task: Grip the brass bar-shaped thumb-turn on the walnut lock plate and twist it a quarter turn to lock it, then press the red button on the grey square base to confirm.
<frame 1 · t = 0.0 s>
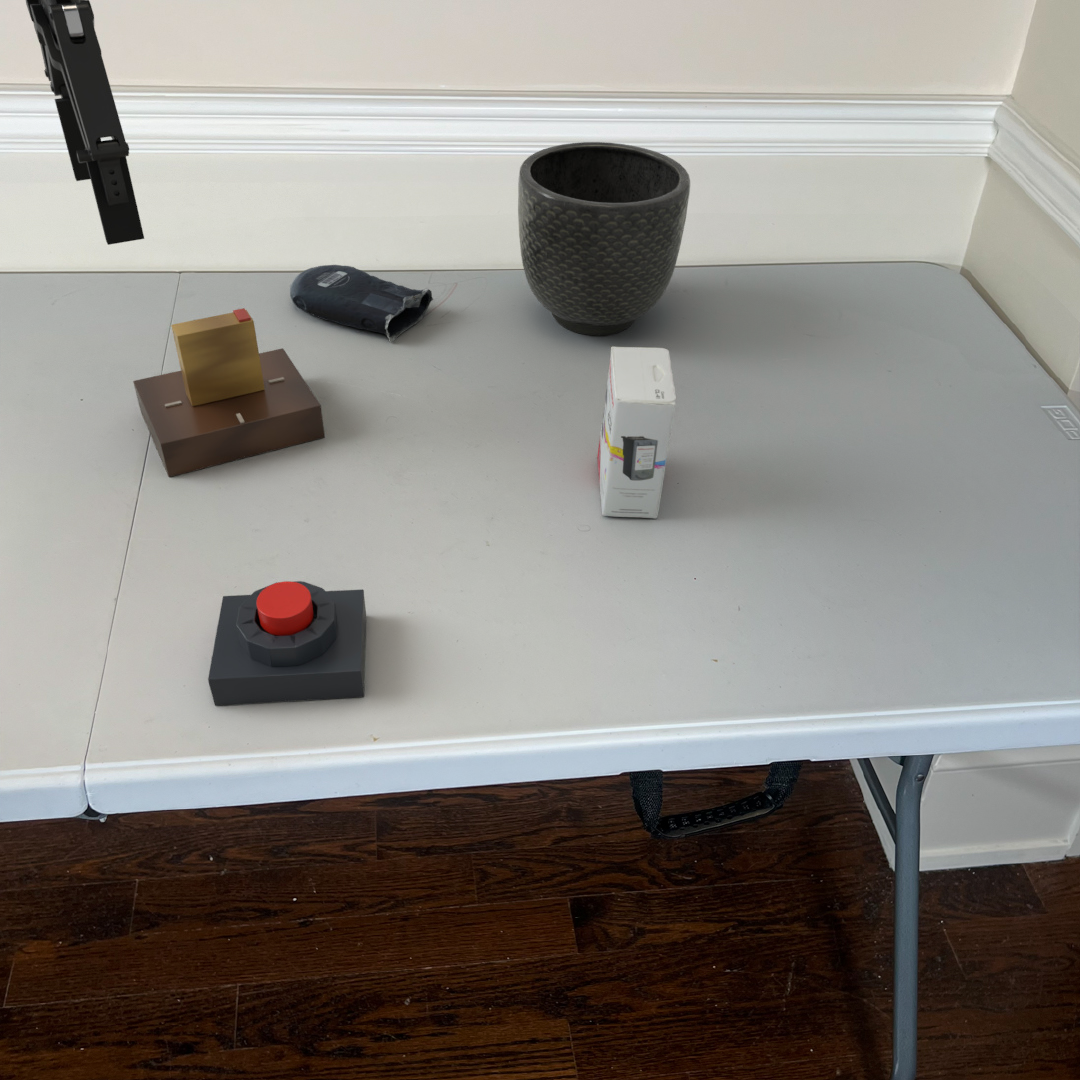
hand: (108, 207, 84), 19 cm above the table, tool pointing down, fingers open, 13 cm apart
ink box: (627, 490, 90), on the table
button: (285, 608, 70), point 5 cm above the table, slide at 0.1 cm
planter: (593, 317, 113), on the table
grey square base: (294, 658, 73), on the table
lock plate: (232, 425, 95), on the table
thumb turn: (219, 357, 90), point 7 cm above the table, hinge at 0.0°
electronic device: (356, 311, 112), on the table
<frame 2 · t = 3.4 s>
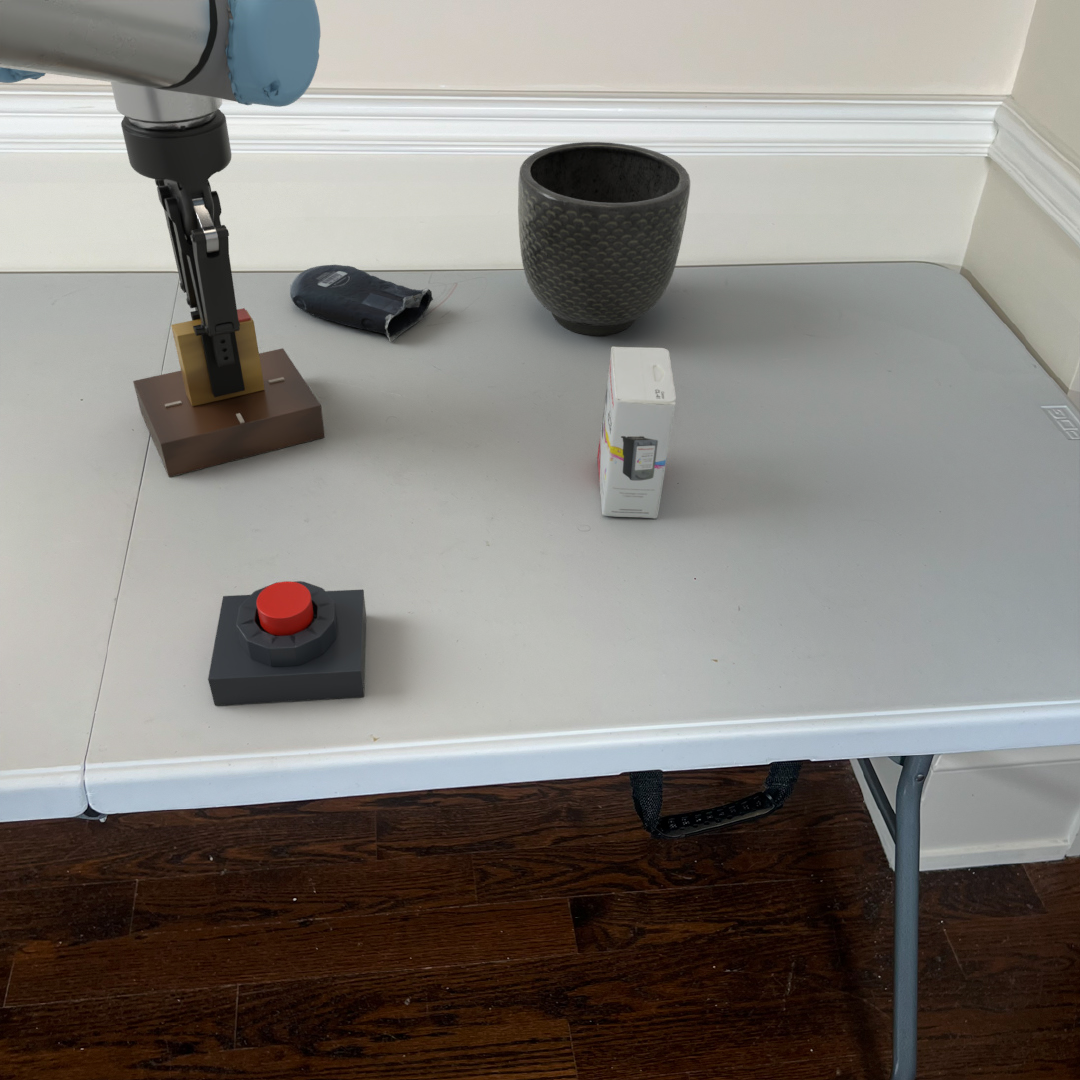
hand: (224, 383, 92), 4 cm above the table, tool pointing down, fingers closed on thumb turn, 2 cm apart
thumb turn: (219, 357, 90), point 7 cm above the table, hinge at 0.0°, touching gripper
everything else where it was.
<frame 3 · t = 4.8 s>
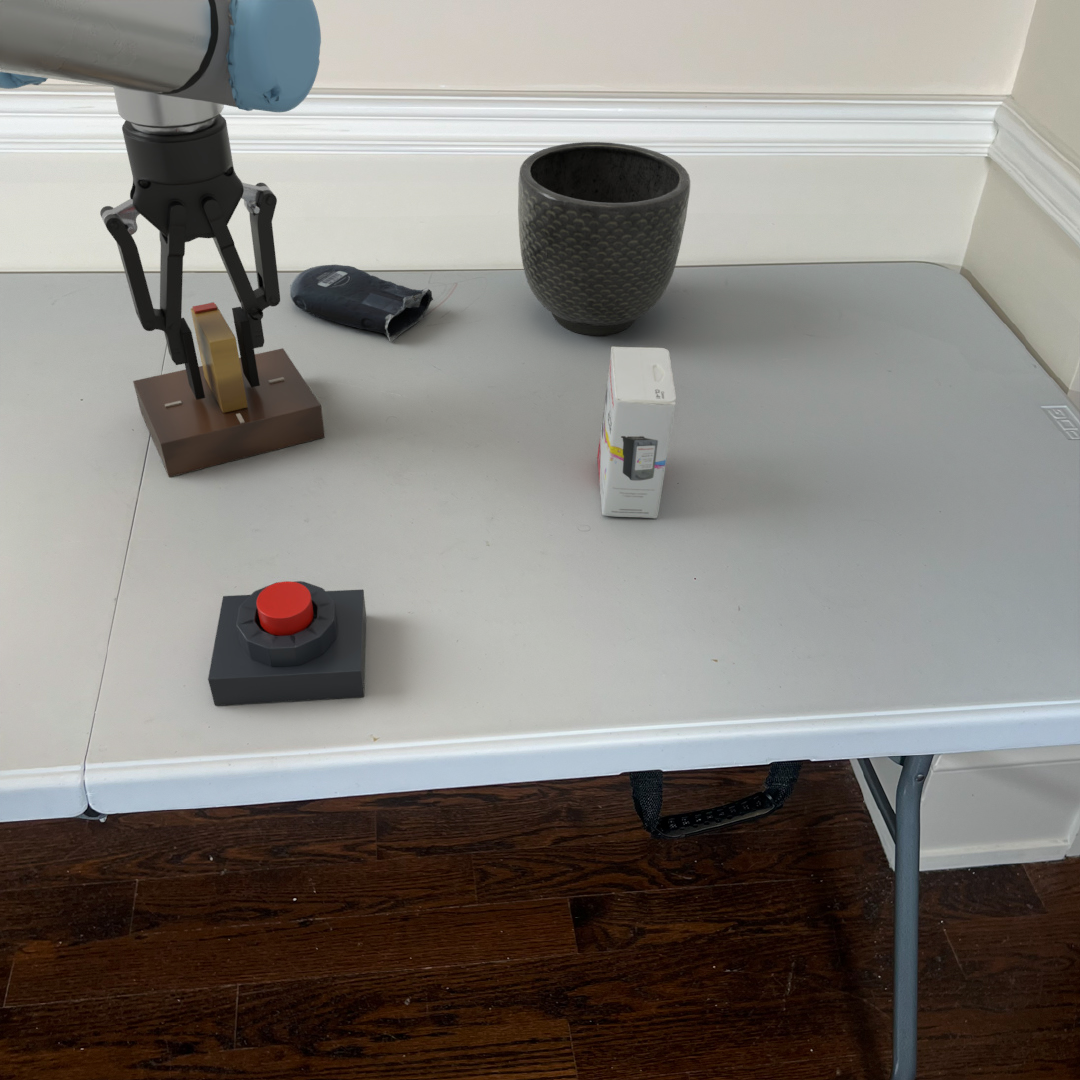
hand: (224, 384, 92), 4 cm above the table, tool pointing down, fingers open, 4 cm apart
thumb turn: (219, 357, 90), point 7 cm above the table, hinge at 89.5°
everything else where it was.
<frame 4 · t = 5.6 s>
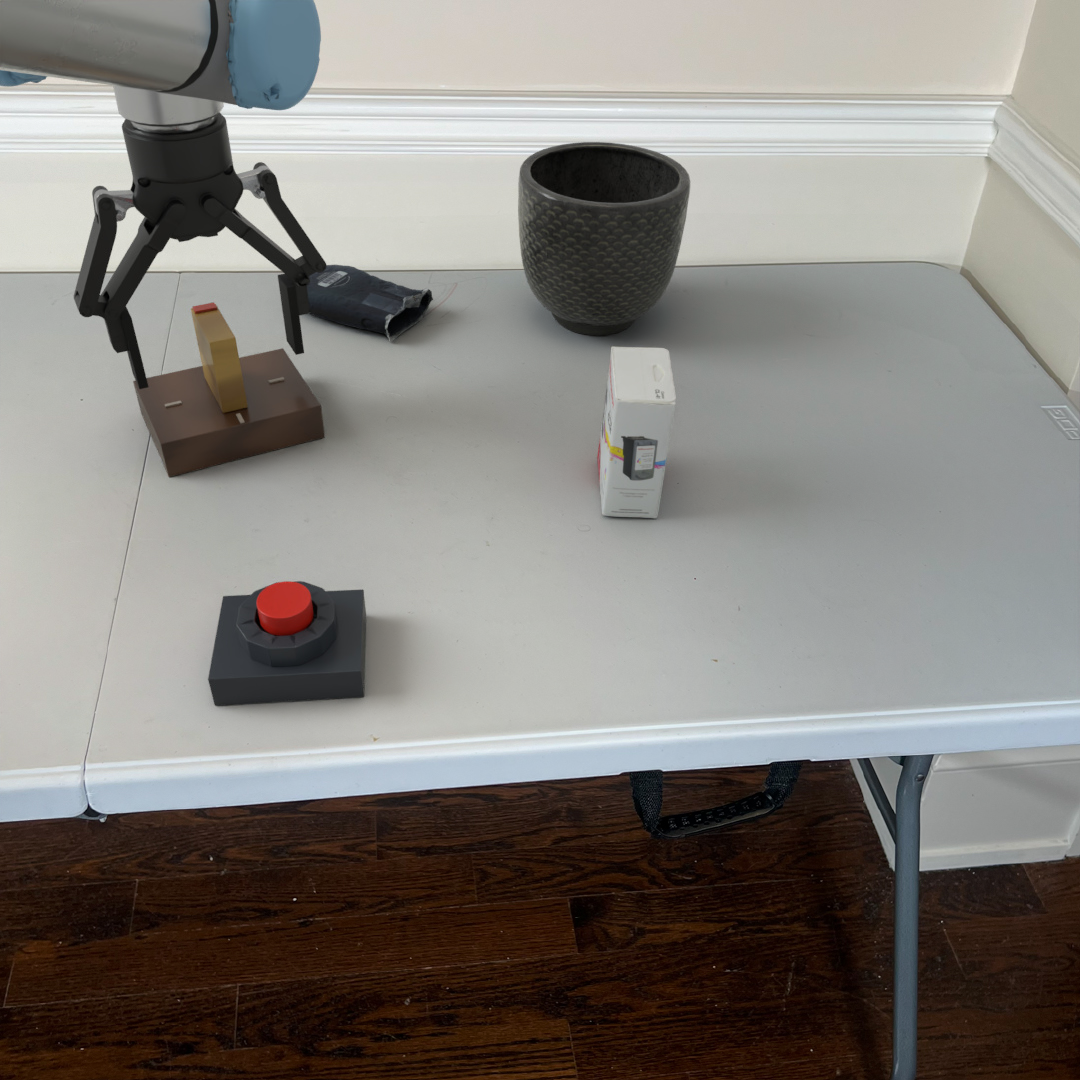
hand: (220, 363, 91), 6 cm above the table, tool pointing down, fingers open, 13 cm apart
nothing on the table moved.
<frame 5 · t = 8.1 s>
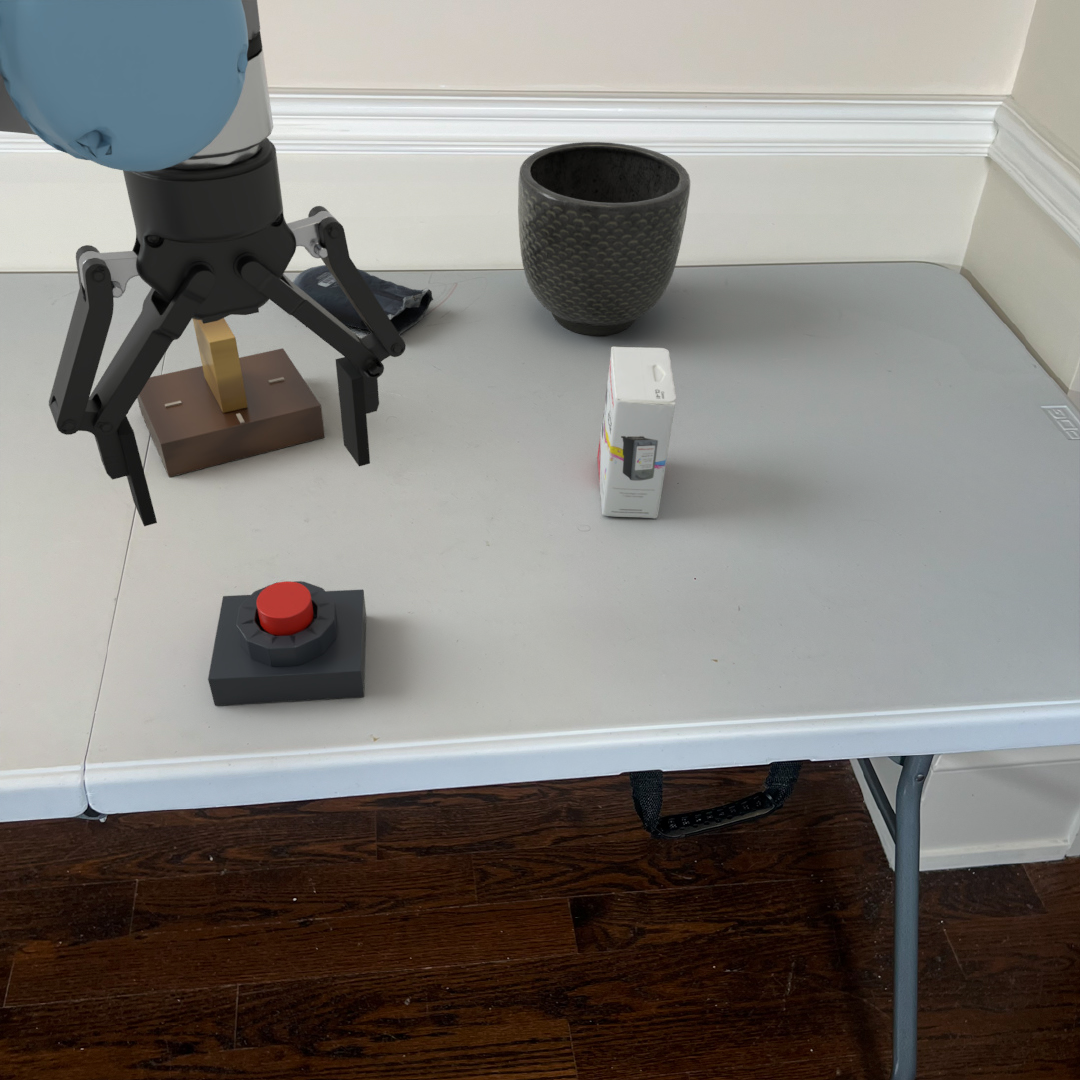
hand: (255, 482, 65), 14 cm above the table, tool pointing down, fingers open, 13 cm apart
nothing on the table moved.
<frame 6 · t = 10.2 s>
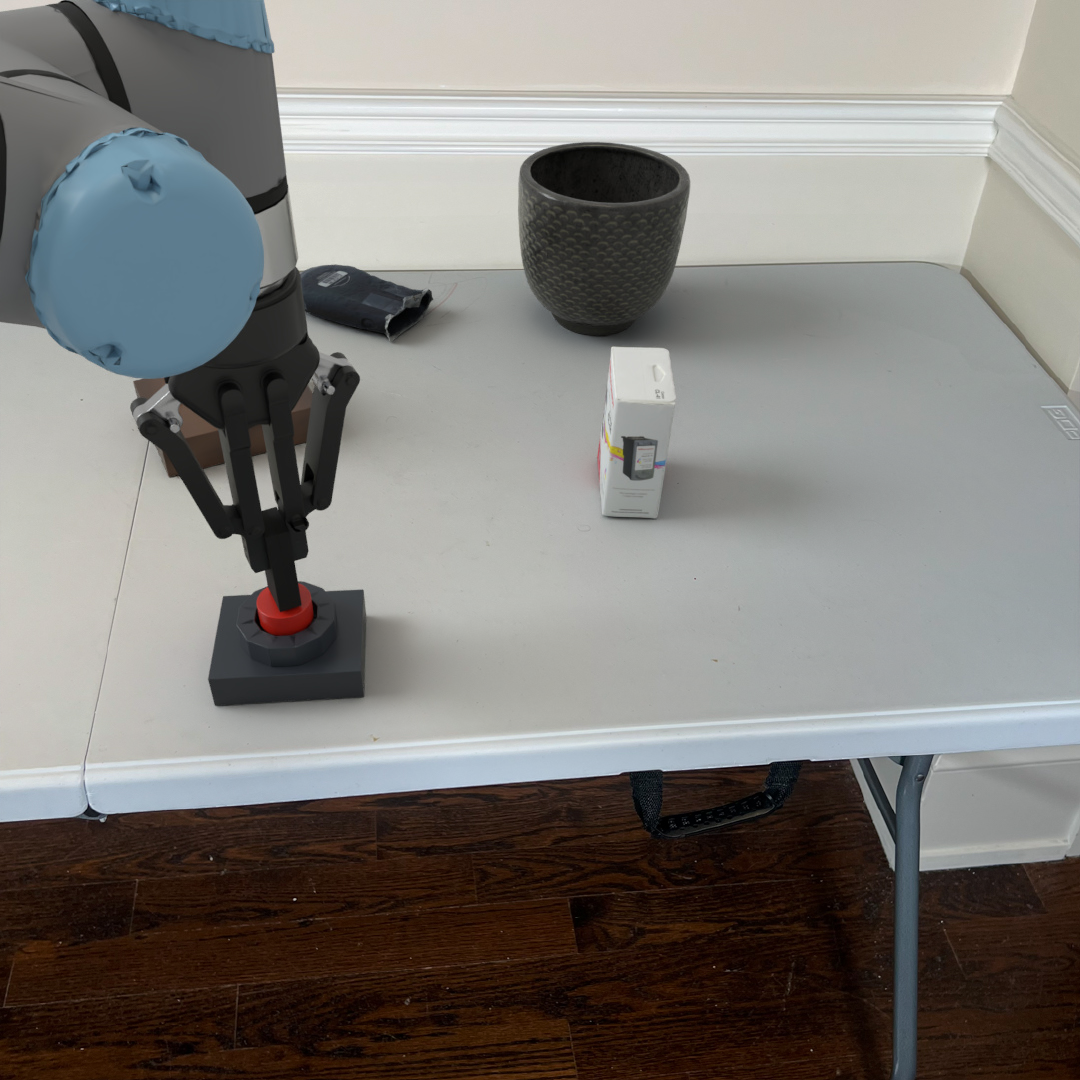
hand: (284, 595, 69), 6 cm above the table, tool pointing down, fingers closed
button: (285, 608, 70), point 5 cm above the table, slide at 0.1 cm, touching gripper
everything else where it was.
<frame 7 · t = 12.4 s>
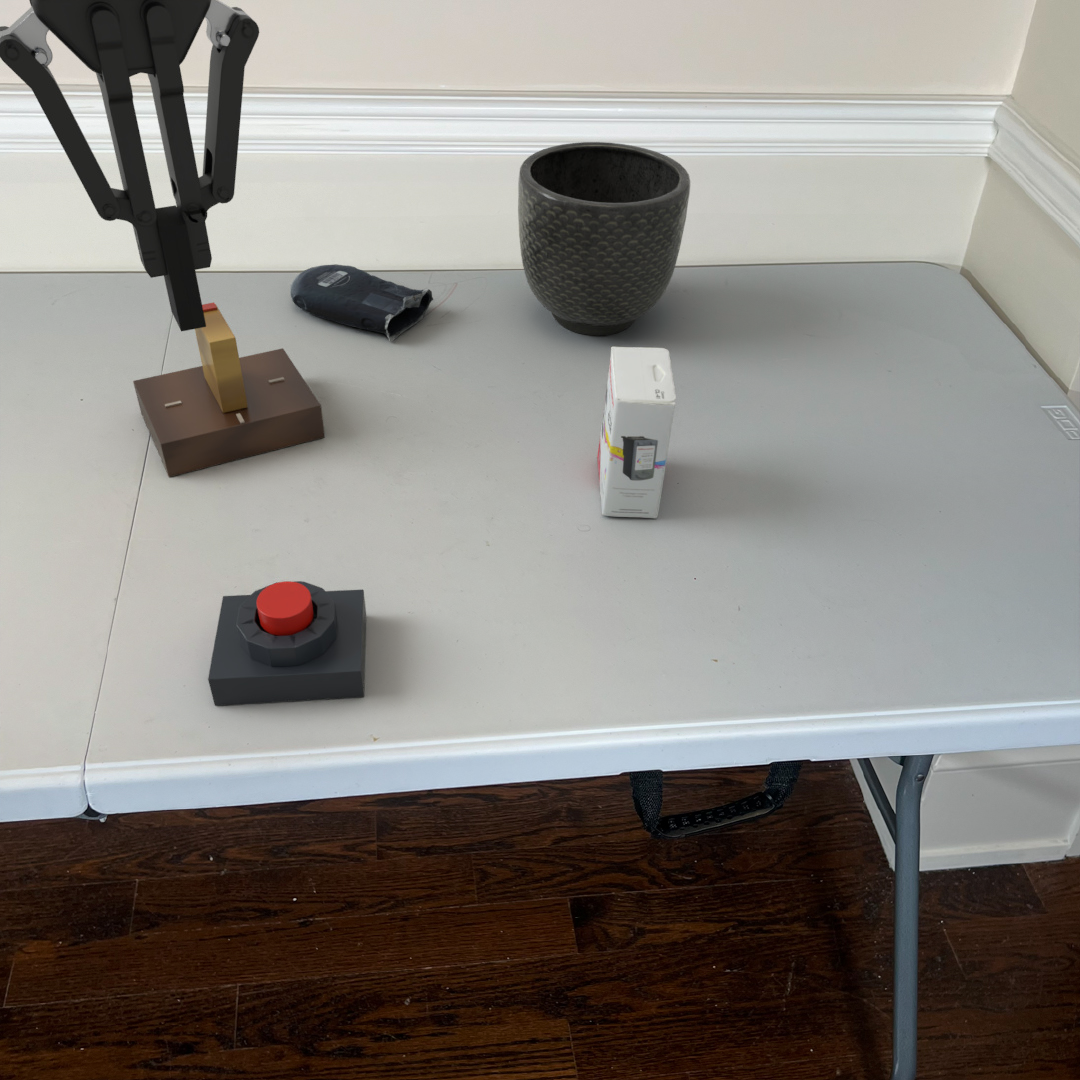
hand: (188, 318, 63), 23 cm above the table, tool pointing down, fingers closed
button: (285, 608, 70), point 5 cm above the table, slide at 0.1 cm
everything else where it was.
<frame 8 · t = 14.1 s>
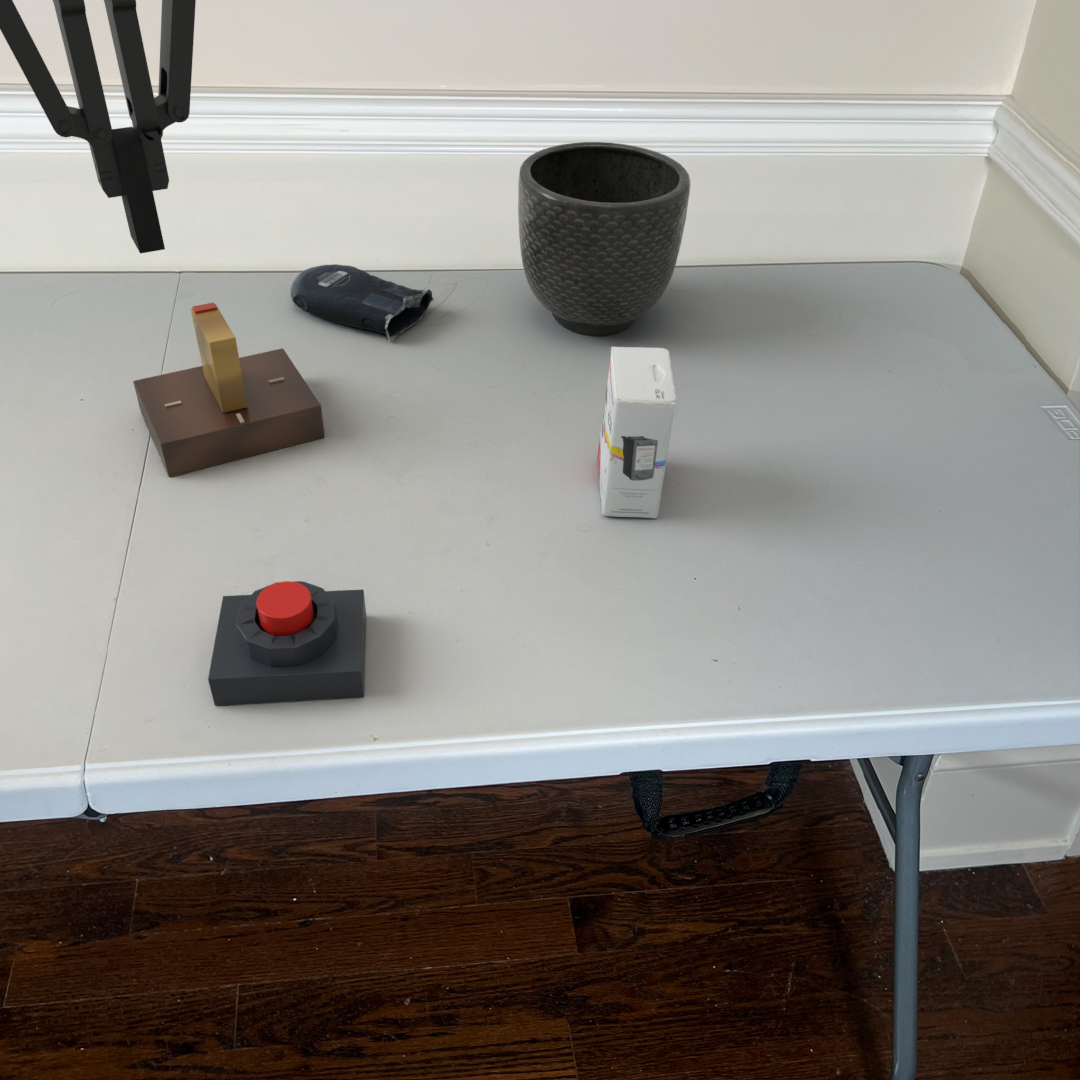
hand: (147, 242, 64), 26 cm above the table, tool pointing down, fingers closed
nothing on the table moved.
at the end: thumb turn at +90° (first picture: +0°); button pushed in 1.0 cm at the most during the clip, back to where it started at the end; button slide at 0.1 cm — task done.
